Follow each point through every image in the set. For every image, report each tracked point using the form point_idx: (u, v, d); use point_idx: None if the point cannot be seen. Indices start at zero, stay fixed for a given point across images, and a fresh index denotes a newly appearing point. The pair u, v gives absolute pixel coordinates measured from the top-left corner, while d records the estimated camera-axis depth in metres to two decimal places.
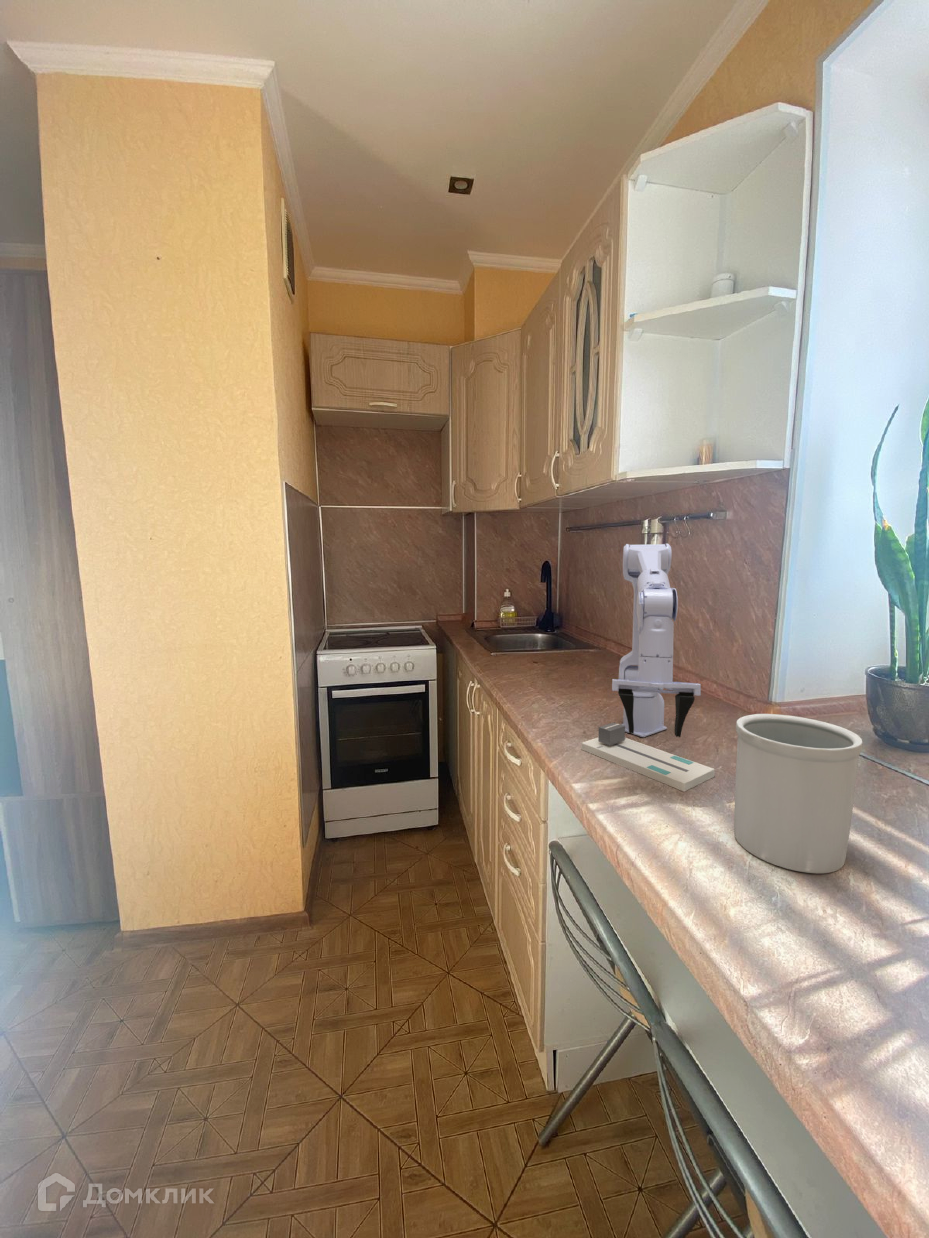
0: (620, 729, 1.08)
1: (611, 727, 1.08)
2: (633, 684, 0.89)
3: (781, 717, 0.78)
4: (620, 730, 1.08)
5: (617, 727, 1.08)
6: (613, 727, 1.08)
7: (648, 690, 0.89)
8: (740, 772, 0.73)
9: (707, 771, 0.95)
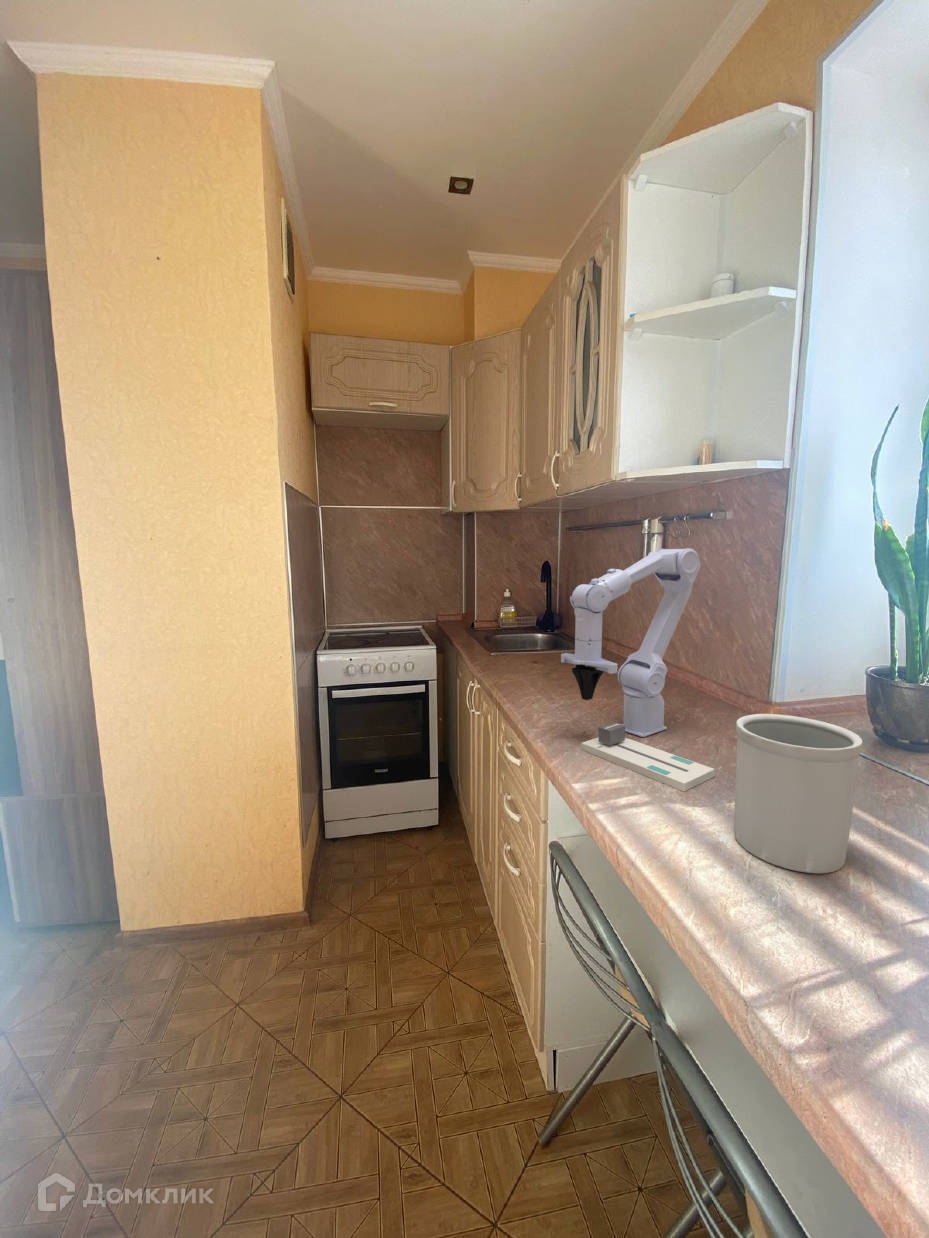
0: (620, 729, 1.08)
1: (611, 727, 1.08)
2: (569, 659, 1.14)
3: (781, 717, 0.78)
4: (620, 730, 1.08)
5: (617, 727, 1.08)
6: (613, 727, 1.08)
7: (582, 664, 1.13)
8: (740, 772, 0.73)
9: (707, 771, 0.95)
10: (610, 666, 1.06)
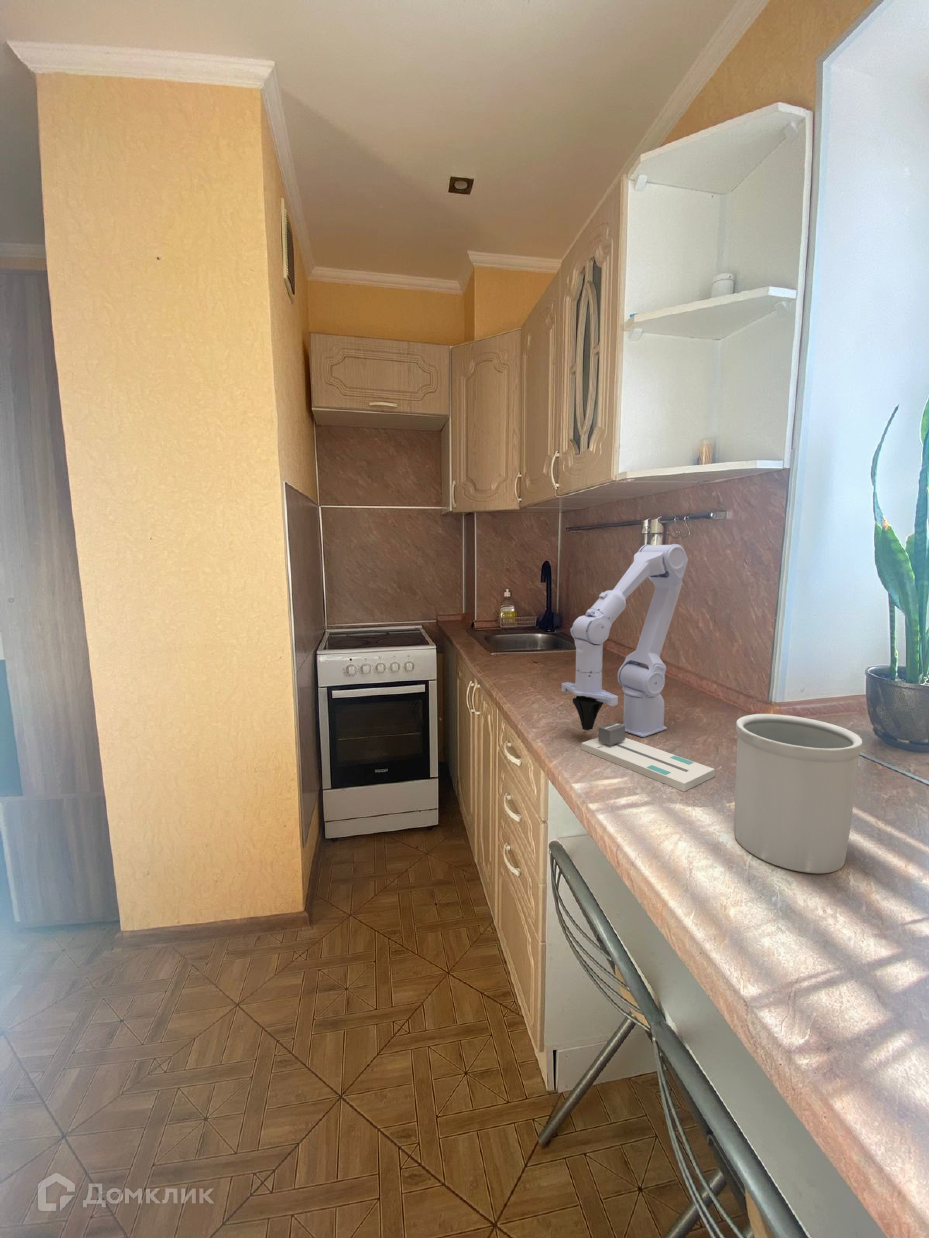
0: (620, 729, 1.08)
1: (611, 727, 1.08)
2: (570, 689, 1.15)
3: (781, 717, 0.78)
4: (620, 730, 1.08)
5: (617, 727, 1.08)
6: (613, 727, 1.08)
7: None
8: (740, 772, 0.73)
9: (707, 771, 0.95)
10: (610, 698, 1.07)
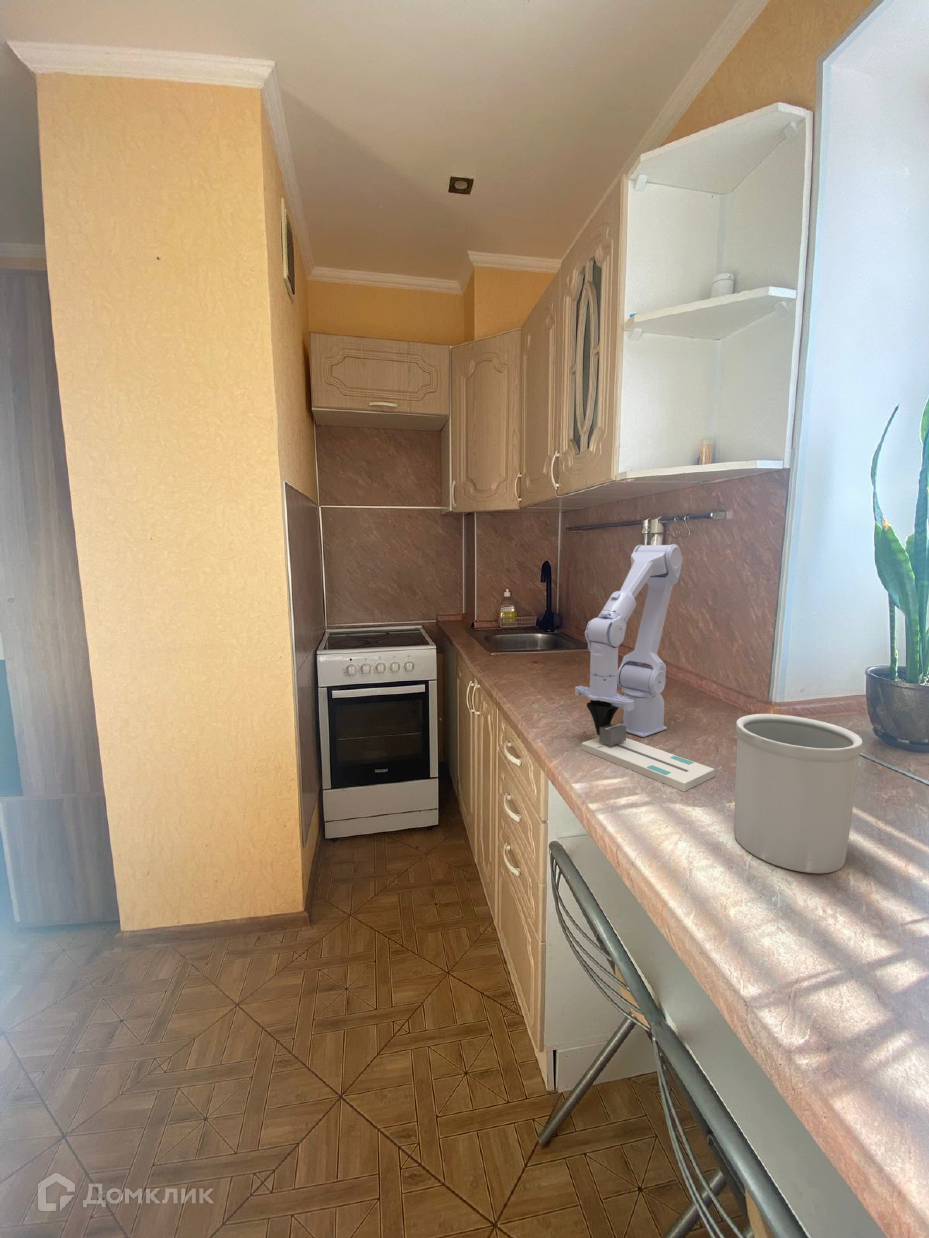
0: (621, 729, 1.08)
1: (612, 727, 1.08)
2: (584, 693, 1.12)
3: (781, 717, 0.78)
4: (621, 731, 1.08)
5: (618, 727, 1.08)
6: (614, 727, 1.08)
7: (598, 699, 1.11)
8: (740, 772, 0.73)
9: (707, 771, 0.95)
10: (627, 703, 1.04)
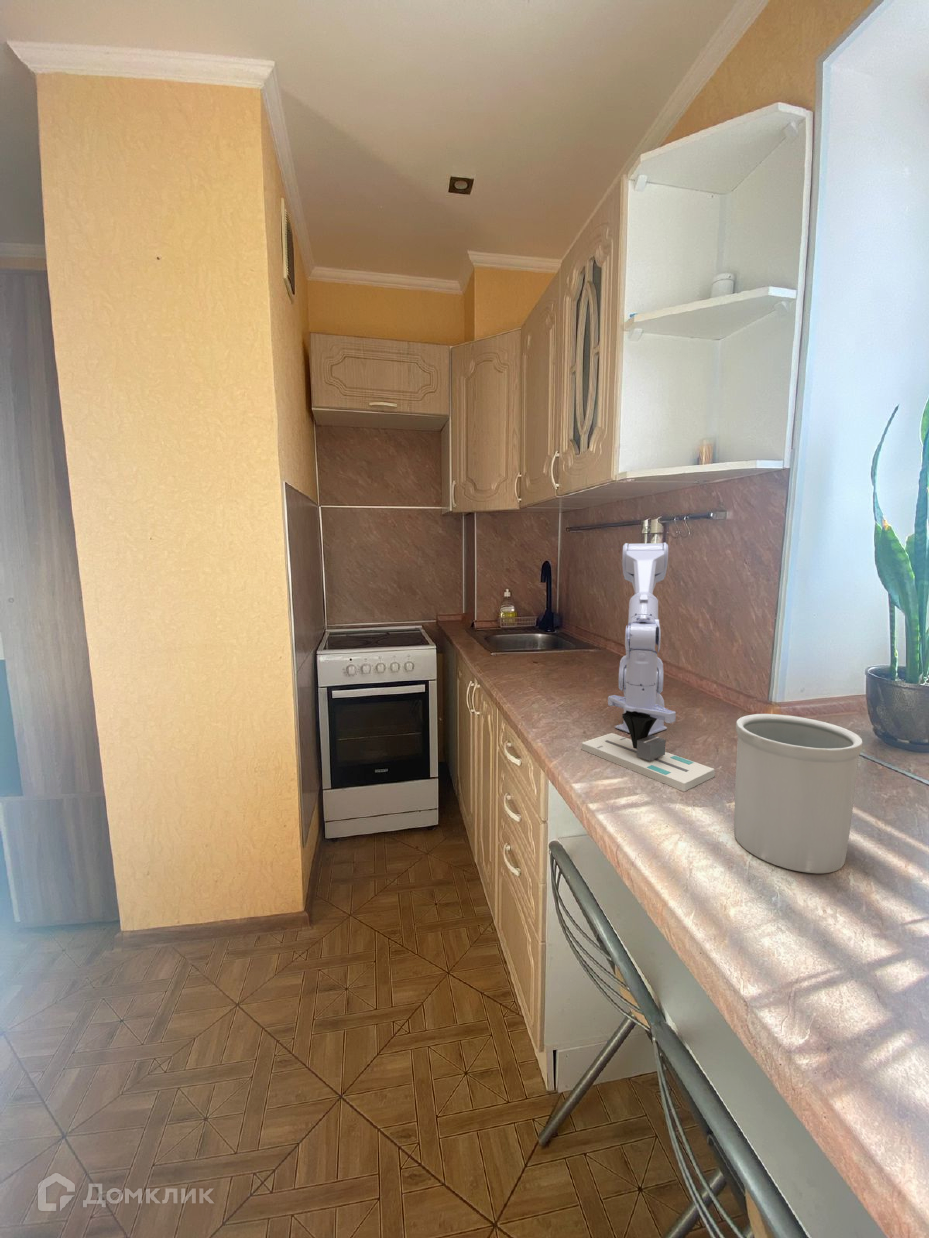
0: (660, 743, 1.00)
1: (651, 741, 1.00)
2: (618, 703, 1.04)
3: (781, 717, 0.78)
4: (661, 744, 1.00)
5: (657, 741, 1.00)
6: (653, 741, 1.00)
7: None
8: (740, 772, 0.73)
9: (707, 771, 0.95)
10: (668, 715, 0.96)
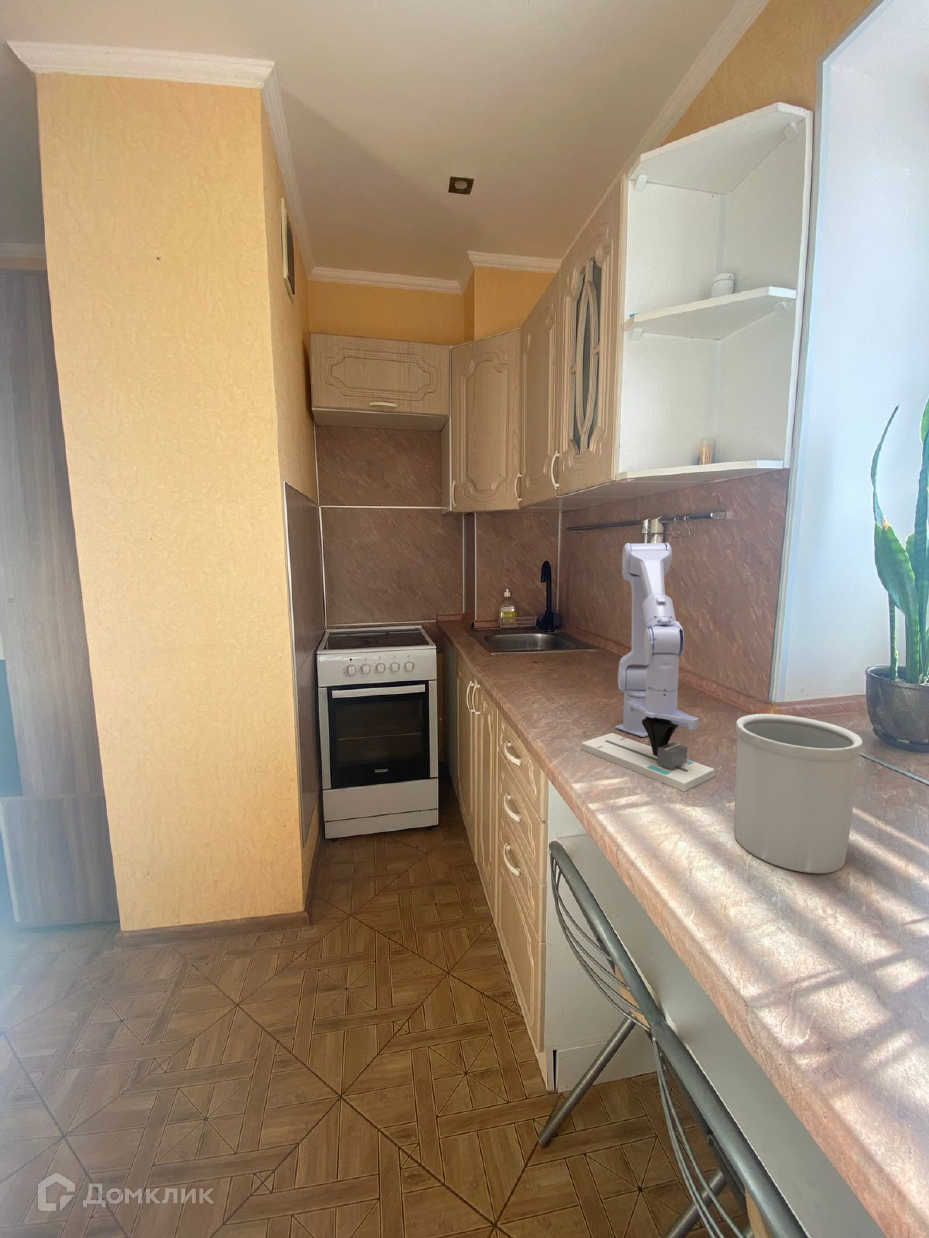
0: (682, 750, 0.96)
1: (672, 748, 0.96)
2: (638, 709, 1.00)
3: (781, 717, 0.78)
4: (682, 751, 0.97)
5: (679, 748, 0.96)
6: (674, 748, 0.96)
7: None
8: (740, 772, 0.73)
9: (707, 771, 0.95)
10: (691, 721, 0.92)
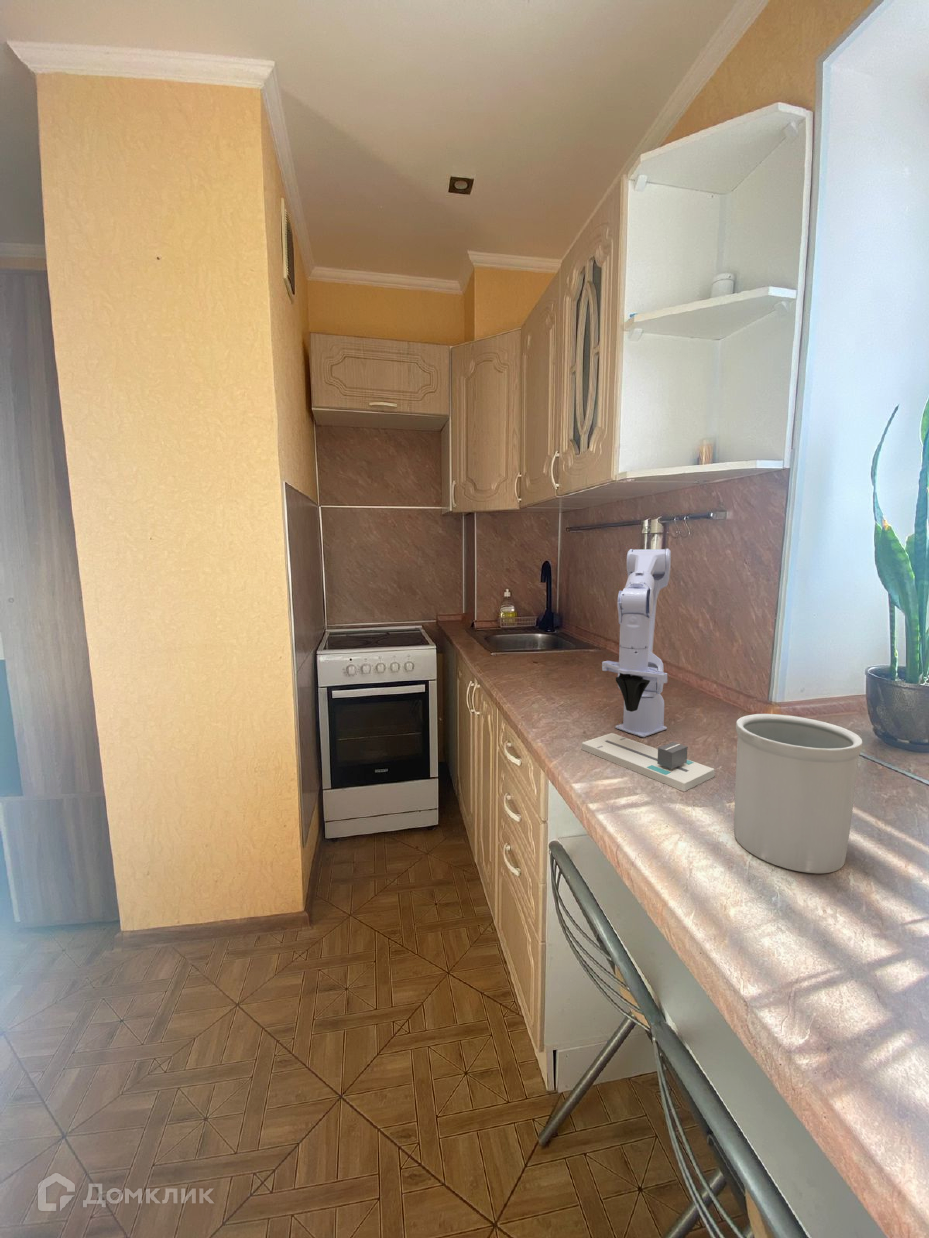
0: (682, 750, 0.96)
1: (672, 748, 0.96)
2: (612, 667, 1.07)
3: (781, 717, 0.78)
4: (683, 751, 0.96)
5: (679, 748, 0.96)
6: (674, 748, 0.96)
7: (627, 673, 1.06)
8: (740, 772, 0.73)
9: (707, 771, 0.95)
10: (660, 676, 0.99)
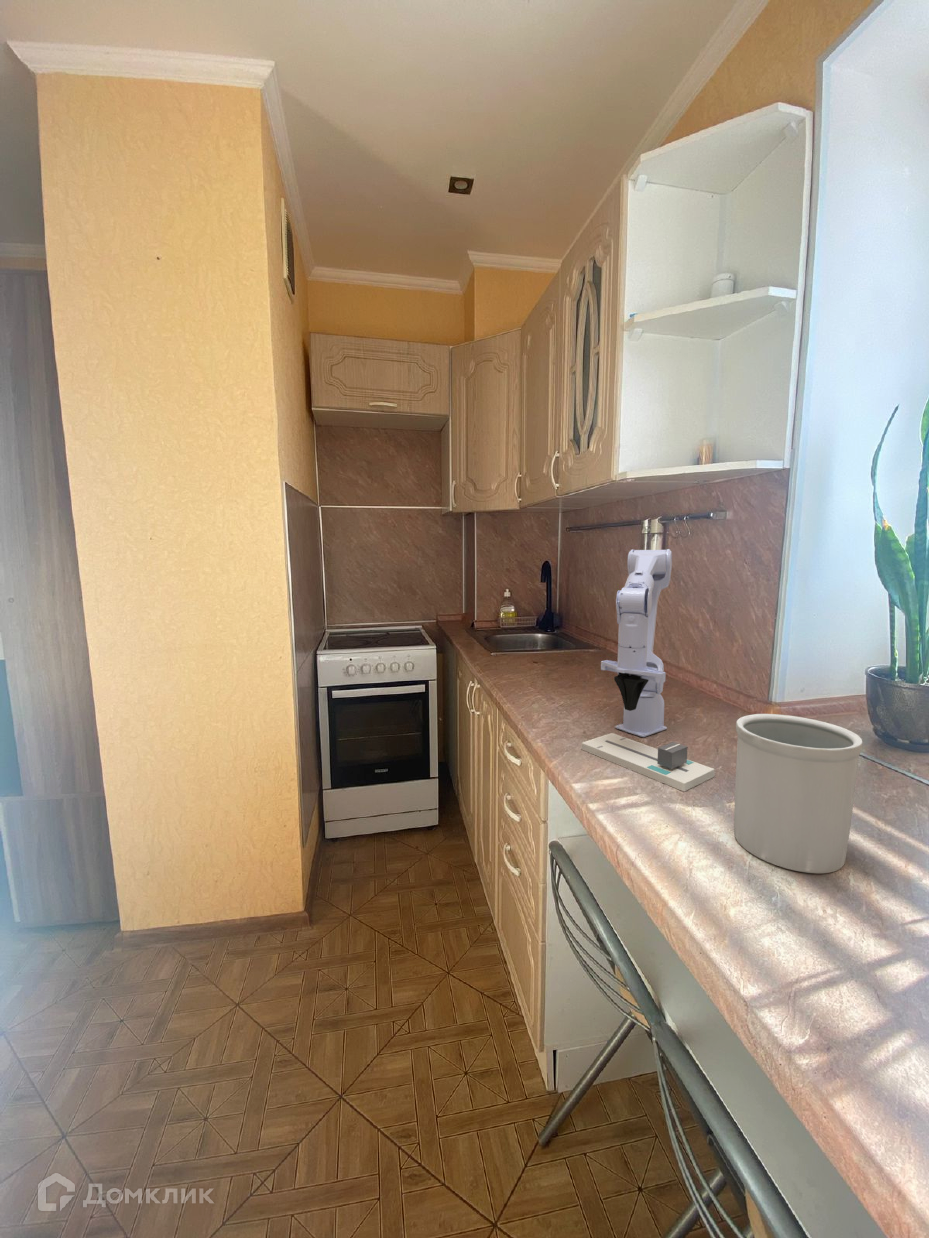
0: (682, 750, 0.96)
1: (672, 748, 0.96)
2: (611, 667, 1.08)
3: (781, 717, 0.78)
4: (683, 751, 0.96)
5: (679, 748, 0.96)
6: (674, 748, 0.96)
7: (626, 673, 1.06)
8: (740, 772, 0.73)
9: (707, 771, 0.95)
10: (658, 675, 0.99)
